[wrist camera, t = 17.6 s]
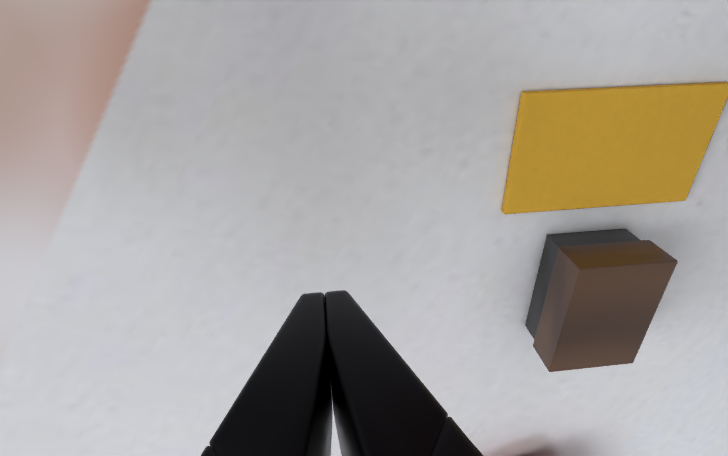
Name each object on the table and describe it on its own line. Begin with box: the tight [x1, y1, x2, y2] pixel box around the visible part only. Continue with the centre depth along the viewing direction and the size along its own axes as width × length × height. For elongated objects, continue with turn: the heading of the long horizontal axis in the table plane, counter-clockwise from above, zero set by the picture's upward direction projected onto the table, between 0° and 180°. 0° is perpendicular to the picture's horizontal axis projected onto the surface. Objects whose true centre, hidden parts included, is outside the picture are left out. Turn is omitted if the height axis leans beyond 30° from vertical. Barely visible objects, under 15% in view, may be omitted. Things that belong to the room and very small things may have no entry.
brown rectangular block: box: [525, 229, 677, 372], centre depth 23 cm, size 7×5×4 cm
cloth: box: [502, 82, 728, 214], centre depth 20 cm, size 10×6×1 cm, turn 91°
